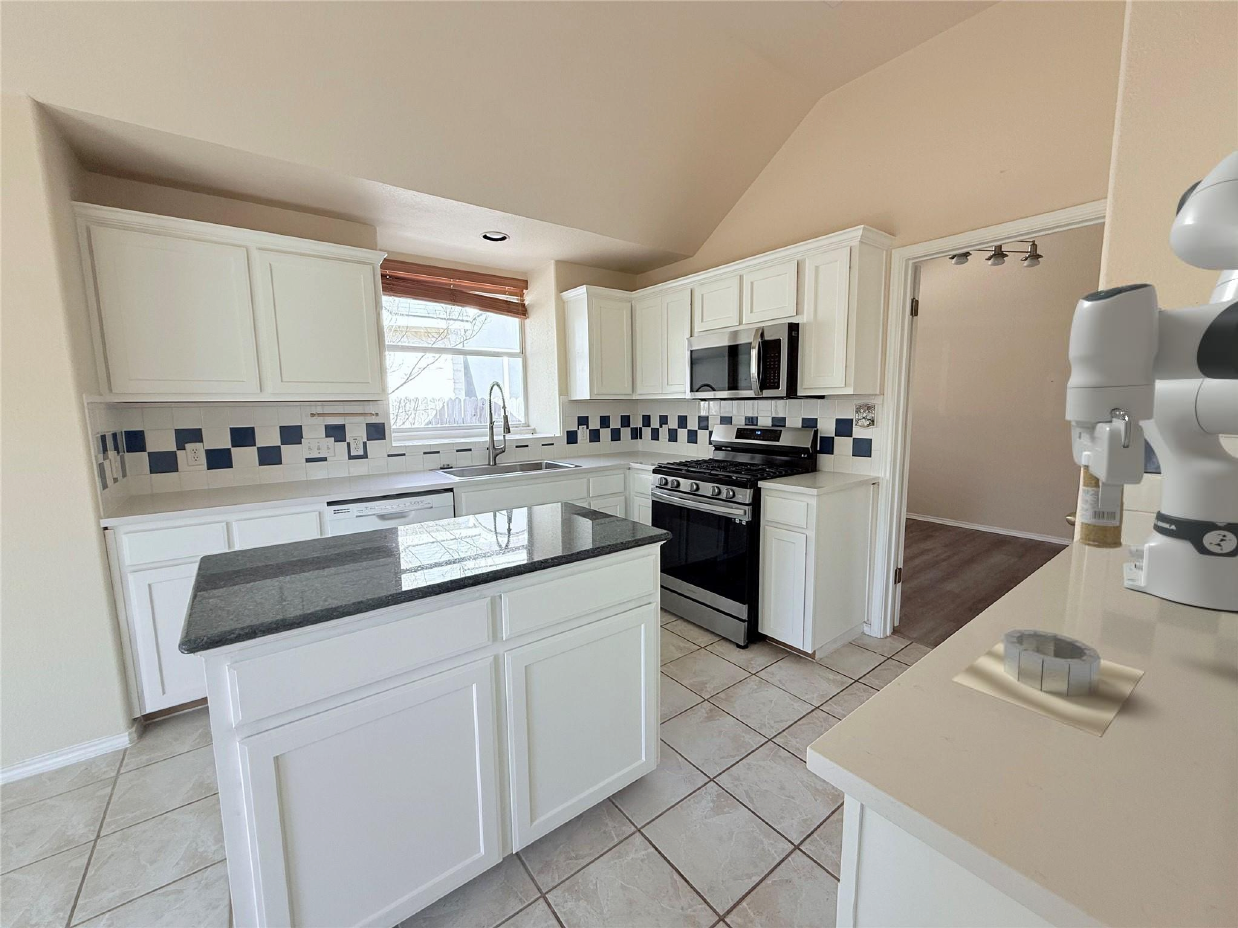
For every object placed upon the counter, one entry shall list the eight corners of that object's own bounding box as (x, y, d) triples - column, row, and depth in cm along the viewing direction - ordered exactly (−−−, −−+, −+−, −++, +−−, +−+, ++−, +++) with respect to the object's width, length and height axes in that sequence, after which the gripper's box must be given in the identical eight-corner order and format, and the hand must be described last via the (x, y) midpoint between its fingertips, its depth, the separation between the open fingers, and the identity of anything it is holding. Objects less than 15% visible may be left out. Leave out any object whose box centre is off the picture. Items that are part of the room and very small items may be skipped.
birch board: (1010, 641, 76) (1011, 633, 76) (1143, 680, 65) (1144, 671, 64) (951, 688, 65) (951, 680, 64) (1099, 747, 53) (1100, 736, 53)
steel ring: (1000, 652, 71) (1002, 624, 70) (1087, 668, 66) (1089, 638, 65) (1006, 683, 63) (1008, 653, 63) (1105, 704, 58) (1108, 671, 58)
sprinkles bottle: (1125, 545, 73) (1130, 450, 71) (1118, 551, 70) (1123, 453, 69) (1082, 539, 76) (1086, 449, 75) (1074, 545, 74) (1078, 452, 72)
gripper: (1166, 410, 61) (1158, 524, 62) (1119, 403, 78) (1113, 493, 79) (1095, 412, 64) (1088, 520, 66) (1064, 405, 81) (1060, 491, 83)
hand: (1101, 505), depth 73 cm, fingers closed on sprinkles bottle, 4 cm apart
